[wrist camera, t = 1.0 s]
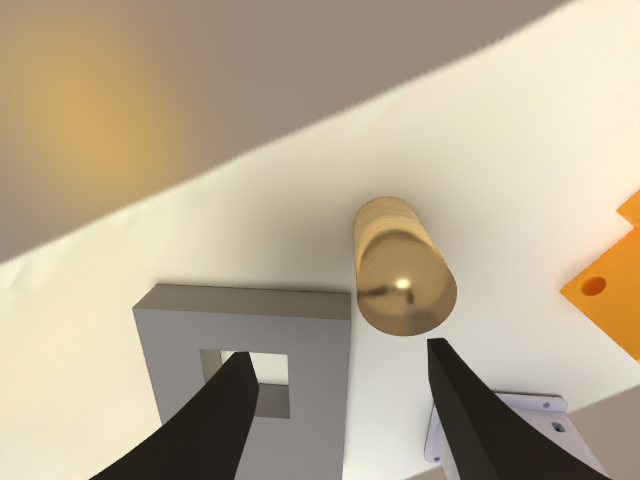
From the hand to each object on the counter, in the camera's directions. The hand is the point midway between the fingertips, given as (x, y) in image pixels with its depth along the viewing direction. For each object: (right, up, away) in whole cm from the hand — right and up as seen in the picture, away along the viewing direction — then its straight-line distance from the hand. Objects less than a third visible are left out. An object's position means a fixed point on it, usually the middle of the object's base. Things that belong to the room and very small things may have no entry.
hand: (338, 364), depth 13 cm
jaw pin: (+3, +6, +8) cm, 10 cm away
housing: (-6, -7, +14) cm, 16 cm away
